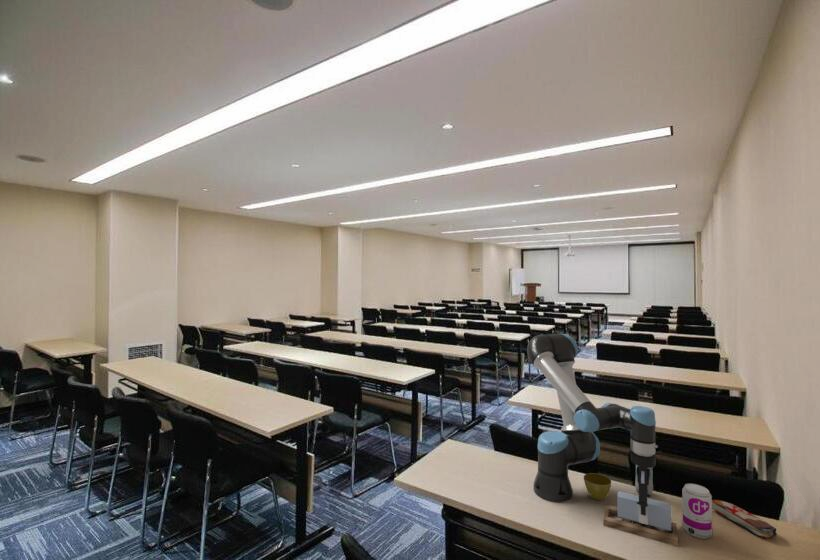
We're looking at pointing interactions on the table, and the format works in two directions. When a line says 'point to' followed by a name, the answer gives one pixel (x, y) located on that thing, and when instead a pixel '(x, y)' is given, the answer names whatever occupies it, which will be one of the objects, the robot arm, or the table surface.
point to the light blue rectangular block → (656, 511)
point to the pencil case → (744, 519)
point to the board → (640, 528)
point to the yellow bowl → (597, 485)
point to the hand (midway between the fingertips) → (643, 519)
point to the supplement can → (697, 511)
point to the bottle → (650, 486)
